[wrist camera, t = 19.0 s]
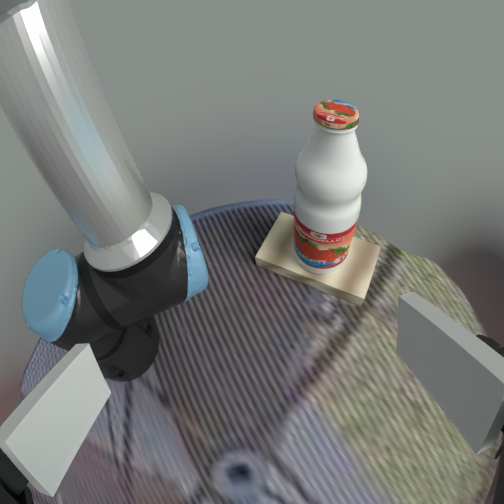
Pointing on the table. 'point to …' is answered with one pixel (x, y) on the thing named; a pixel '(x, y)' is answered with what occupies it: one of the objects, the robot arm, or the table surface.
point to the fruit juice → (328, 188)
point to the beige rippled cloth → (336, 283)
